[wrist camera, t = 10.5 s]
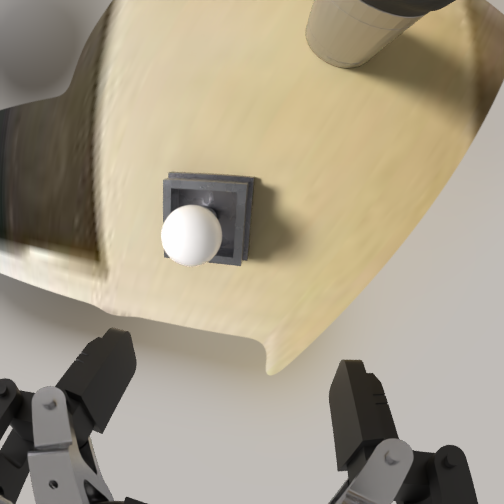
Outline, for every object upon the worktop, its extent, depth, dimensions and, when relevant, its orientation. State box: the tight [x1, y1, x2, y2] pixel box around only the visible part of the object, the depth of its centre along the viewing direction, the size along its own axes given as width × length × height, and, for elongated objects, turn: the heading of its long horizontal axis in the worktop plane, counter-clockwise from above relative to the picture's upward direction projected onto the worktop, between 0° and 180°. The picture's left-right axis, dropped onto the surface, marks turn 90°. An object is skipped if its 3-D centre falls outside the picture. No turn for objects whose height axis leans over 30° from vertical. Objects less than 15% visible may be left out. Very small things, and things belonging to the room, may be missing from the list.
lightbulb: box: [161, 205, 222, 267], centre depth 31 cm, size 6×6×11 cm
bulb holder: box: [163, 172, 254, 266], centre depth 35 cm, size 11×11×4 cm
